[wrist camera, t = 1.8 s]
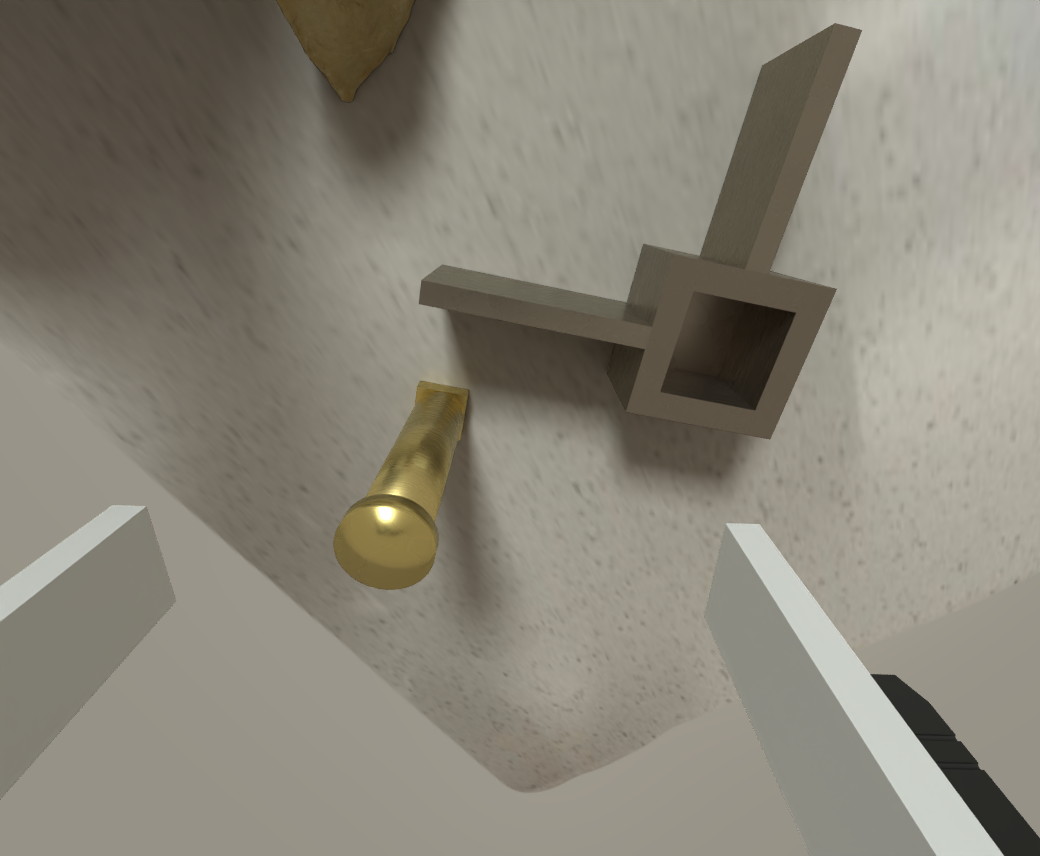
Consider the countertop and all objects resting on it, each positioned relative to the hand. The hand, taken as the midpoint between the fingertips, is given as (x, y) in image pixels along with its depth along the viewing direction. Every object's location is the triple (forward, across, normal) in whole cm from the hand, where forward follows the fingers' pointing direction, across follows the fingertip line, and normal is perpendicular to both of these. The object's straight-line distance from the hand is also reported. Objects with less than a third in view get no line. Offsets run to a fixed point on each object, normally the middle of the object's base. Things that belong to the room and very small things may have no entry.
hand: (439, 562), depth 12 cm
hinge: (+24, +8, +7) cm, 26 cm away
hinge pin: (+24, -4, -6) cm, 25 cm away
